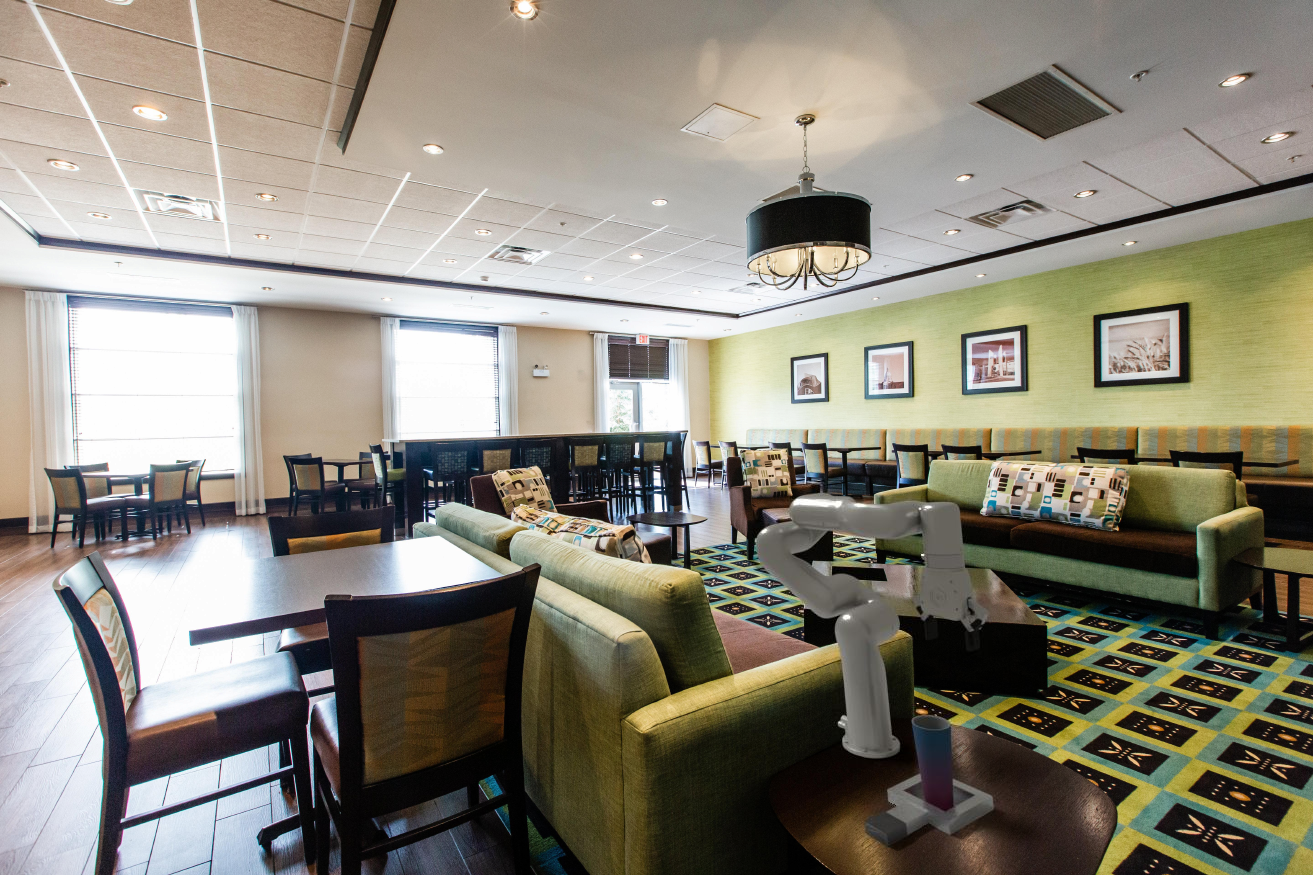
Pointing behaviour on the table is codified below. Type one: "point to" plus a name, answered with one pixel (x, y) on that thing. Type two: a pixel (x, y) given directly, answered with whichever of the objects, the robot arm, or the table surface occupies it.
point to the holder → (926, 811)
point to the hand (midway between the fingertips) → (951, 644)
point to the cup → (935, 759)
